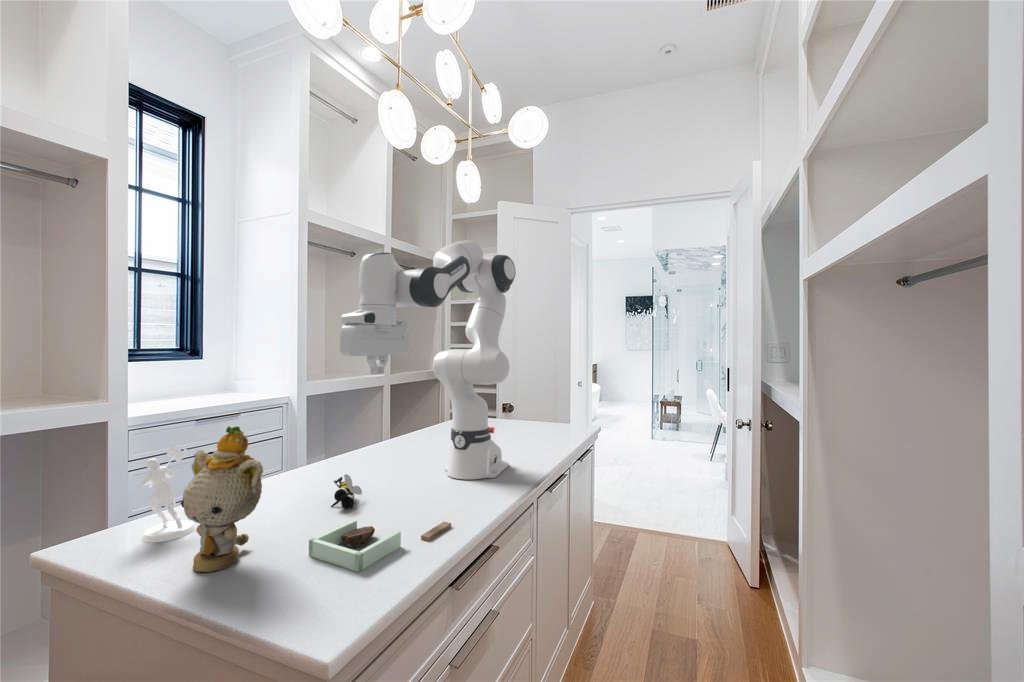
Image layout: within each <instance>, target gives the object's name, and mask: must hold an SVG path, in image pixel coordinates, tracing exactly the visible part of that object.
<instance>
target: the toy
mask: <svg viewBox="0 0 1024 682" xmlns="http://www.w3.org/2000/svg"><path fill="white" fill-rule="evenodd" d="M343 476H344V479H343ZM343 476H340V477H339V478H337V479H335V480H333V483H334V485H336V486H337V487H338V488H337V489H336V490H335V492H334V495H333V497H334V499H335V501H334V502H333V504H332V505H330V508H333V507H335V506H336V505H337V504H339V503H340V502H341V503H340V504H341V505H340V506H341V507H342V508H343V509H345V510H349V509H351V510H352V509H353V507H354V505H355V498H354V497H355V495H359V496H360V495H362V494H363V491H362V488H361V487H360V486H359V485H353V480H352V478H351V476H350V475H349V474H347V473H345V474H344V475H343ZM338 483H339V484H338Z"/></svg>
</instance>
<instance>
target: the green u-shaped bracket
mask: <svg viewBox="0 0 1024 682" xmlns="http://www.w3.org/2000/svg"><path fill="white" fill-rule="evenodd" d="M356 529H358V520H357V519H352V520H350V521H347V522H346V523H343V524H341V525H339V526H337V527H335V528H332V529H331V530H328V531H326V532H324V533H321V534H320V535H317V536H315V537H313V538H311V539H308V557H311V558H314V559H318V560H321V561H323V562H327V563H330V564H333V565H336V566H339V567H342V568H345V569H348V570H351V571H354V572H357V573H359V572H361V571H363V570H365V569H366V568H368V567H369V566H371V565H372V564H375V563H376V562H378V561H379V560H381V559H382V558H384V557H387V556H388V555H389V554H391V553H392V552H394V551H396V550H398V549H399V548H401V546H402V544H401V543H402V542H401V541H402V539H401V537H402V533H401V531H399V530H395V531H394V532H392V533H390V534H388V535H387V536H384V537H383V538H380V539H379V540H377V541H375V542H374V543H372V544H370V545H368V546H366V547H365V548H363V549H361V550H360V551H358V550H355V549H351V548H348V547H345V546H341V545H339V544H342V543H344V542H343V541H342V540H341V537H342V536H343V535H345V534H347V533H349V532H351V531H353V530H356Z"/></svg>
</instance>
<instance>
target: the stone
mask: <svg viewBox="0 0 1024 682" xmlns="http://www.w3.org/2000/svg"><path fill="white" fill-rule="evenodd" d="M375 531H376V530H375V528H374V526H372V525H371V526H370V525H369V526H363V527H359V528H357V529H356V530H353V531H351V532H349V533H347V534H345V535H343V536H342V537H341V540H342V541H343V542H342V543H344V544H345V545H347V546H349V547H351V548H354V549H356V548H359V547H364V546H366V545H367V544H368V543H369V542H370V540H371V539H372V537H373V535H374V534H375Z"/></svg>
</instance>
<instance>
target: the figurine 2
mask: <svg viewBox="0 0 1024 682" xmlns="http://www.w3.org/2000/svg"><path fill="white" fill-rule="evenodd" d="M225 432H226V434H224V435H223V436H222V437H221V438H219V440H218V441H217V445H216V448H217V449H216V450H214V451H213V452H212V455H211V454H209V453H207V452H206V451H204V450H202V449H198V450H197V451H196V452H195V453H194V455H193V457H194V460H193V462H192V464H191V470H192V473H193V475H194V476H193V477H192V479H191V480H190V481H189V483H188V484H187V486H186V487H185V488H184V490H183V493H182V501H181V502H180V505H181V507H182V508H183V511H184V514H185V516H186V517H187V519H188V520H189V521H192V522H193V523H197V524H199V525H197V526H196V529H195V531H196V533H197V534H198V536H199V537H200V539H199V540H200V541H199V542H200V548H199V551H198V552H197V553H196V554H195V555H194V557H193V565H192V569H193V570H194V571H195V572H197V573H198V572H199V573H210V572H216V571H220V570H224V569H228V568H230V567H232V566H234V565H236V564H237V563H238V562H239V560H240V558H239V557H240V556H239V553H240V549H239V548H238V546H240V547H241V546H244V545H245V544H247V543H248V541H249V538H250V537H249V535H248V534H247V533H242V534H240V535H239V534H238V528H237V526H236V524H235V523H237V522H239V521H241V520H245V519H246V518H247V517H248V516H249V515H251V514H252V513H253V512H254V511H255V509H256V508H257V505H258V504H259V502H260V499H261V495H262V493H263V489H262V488H263V483H262V474H264V468H263V465H262V463H261V461H259V460H256V459H255V458H253V457H251V456H250V455H249V454H246V451H247V449H248V448H249V440H248V436H246V434H244V431H242V430H241V428H240V426H233V427H231V426H227V428H226V430H225Z"/></svg>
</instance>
